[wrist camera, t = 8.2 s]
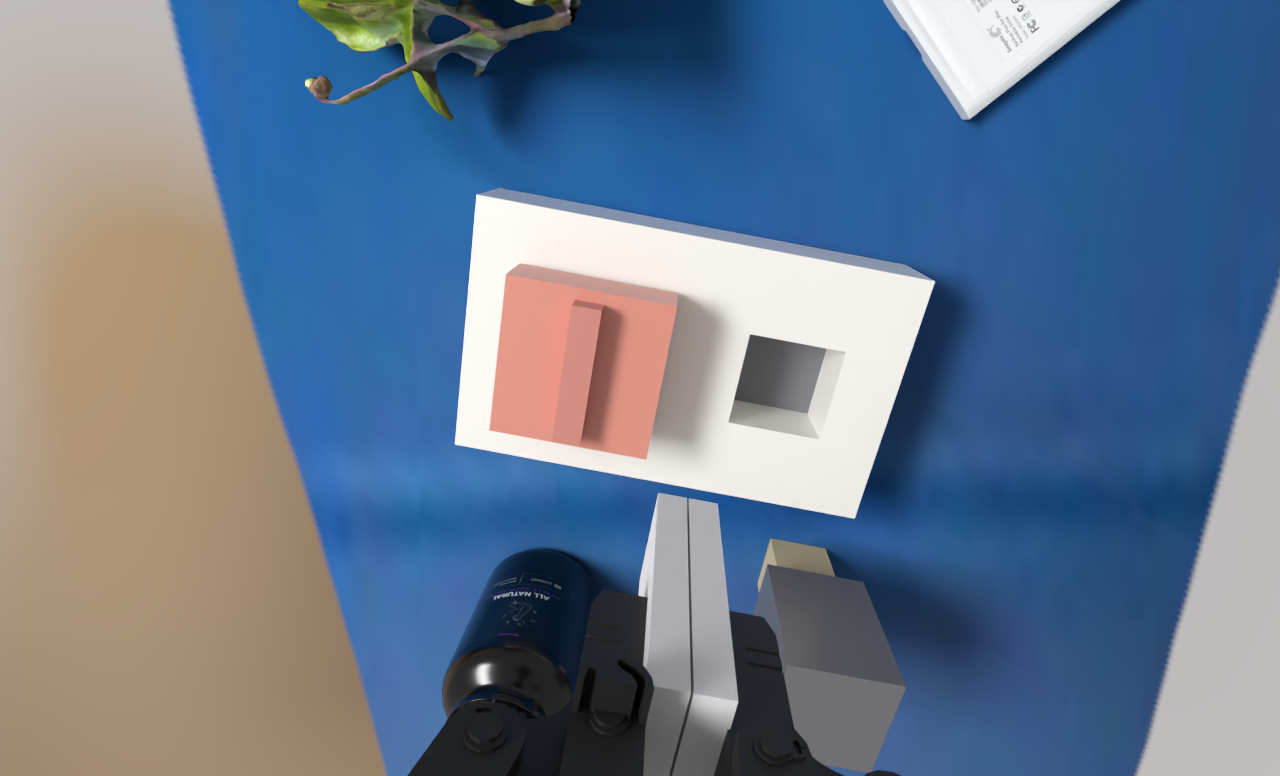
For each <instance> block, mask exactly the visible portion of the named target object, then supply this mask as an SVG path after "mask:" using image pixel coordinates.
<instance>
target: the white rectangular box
mask: <svg viewBox="0 0 1280 776" xmlns="http://www.w3.org/2000/svg"><path fill="white" fill-rule="evenodd" d="M519 263H522V264H527V265H532V266H538V267H543V268H548V269H554V270H559V271H564V272H570V273H575V274H580V275H586V276H591V277H596V278H601V279H607V280H612V281H617V282H623V283H628V284H633V285H639V286H644V287H649V288H655V289H660V290H665V291H670V292H676V293H678V300H677V311H676V316H675V321H674V325H673V330H672V335H671V340H670V345H669V350H668V355H667V360H666V365H665V370H664V375H663V380H662V385H661V390H660V395H659V399H658V404H657V409H656V414H655V419H654V424H653V429H652V434H651V439H650V444H649V449H648V454H647V459H640V458H635V457H630V456H624V455H619V454H613V453H608V452H603V451H597V450H592V449H587V448H581V447H576V446H570V445H565V444H559V443H554V442H549V441H543V440H538V439H533V438H527V437H522V436H517V435H511V434H506V433H500V432H495V431H490V430H489V429H490V419H491V410H492V401H493V391H494V382H495V372H496V363H497V354H498V344H499V335H500V325H501V316H502V307H503V297H504V288H505V278H506V274H507V273H508V272H509V271H511V270H512V269H513V268H514V267H516V266H517V265H518V264H519ZM934 283H935V281H934V280H932V279H930V278H928V277H927V276H925V275H923V274H921V273H919V272H918V271H916V270H914V269H912V268H911V267H909V266H907V265H904V264H899V263H893V262H888V261H883V260H878V259H872V258H867V257H862V256H856V255H851V254H846V253H841V252H835V251H830V250H825V249H819V248H814V247H809V246H804V245H798V244H793V243H788V242H783V241H777V240H772V239H767V238H761V237H756V236H751V235H746V234H740V233H735V232H730V231H724V230H719V229H714V228H709V227H703V226H698V225H693V224H688V223H682V222H677V221H672V220H666V219H661V218H656V217H651V216H645V215H640V214H635V213H629V212H624V211H619V210H614V209H608V208H603V207H598V206H592V205H587V204H582V203H577V202H571V201H566V200H561V199H556V198H550V197H545V196H540V195H534V194H529V193H524V192H519V191H513V190H508V189H503V188H498V189H495V190H491V191H488V192H484V193H480V194H477V195H476V207H475V218H474V230H473V241H472V253H471V264H470V276H469V287H468V299H467V310H466V322H465V333H464V345H463V356H462V368H461V379H460V391H459V402H458V414H457V426H456V437H455V445H460V446H466V447H471V448H477V449H482V450H487V451H493V452H498V453H504V454H509V455H514V456H520V457H525V458H531V459H536V460H541V461H547V462H552V463H557V464H563V465H568V466H574V467H579V468H584V469H590V470H595V471H601V472H606V473H611V474H617V475H622V476H628V477H633V478H638V479H644V480H649V481H654V482H660V483H665V484H671V485H676V486H681V487H687V488H692V489H698V490H703V491H708V492H714V493H719V494H725V495H730V496H735V497H741V498H746V499H751V500H757V501H762V502H768V503H773V504H778V505H784V506H789V507H795V508H800V509H805V510H811V511H816V512H822V513H827V514H832V515H838V516H843V517H848V518H854V519H855V516H856V513H857V510H858V507H859V504H860V501H861V498H862V495H863V492H864V489H865V486H866V483H867V481H868V478H869V475H870V472H871V469H872V466H873V463H874V460H875V457H876V454H877V451H878V448H879V445H880V442H881V439H882V436H883V433H884V430H885V428H886V425H887V422H888V419H889V416H890V413H891V410H892V407H893V404H894V401H895V398H896V395H897V392H898V389H899V386H900V383H901V380H902V378H903V375H904V372H905V369H906V366H907V363H908V360H909V357H910V354H911V351H912V348H913V345H914V342H915V339H916V336H917V333H918V330H919V327H920V325H921V322H922V319H923V316H924V313H925V310H926V307H927V304H928V301H929V298H930V295H931V292H932V289H933V286H934Z"/></svg>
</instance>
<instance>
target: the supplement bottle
mask: <svg viewBox="0 0 1280 776" xmlns="http://www.w3.org/2000/svg"><path fill="white" fill-rule="evenodd" d="M597 596H598V594H597V590H596V587H595V584H594V582H593V580H592V578H591V577H590V575H589V574H588V573H587V571H586V570H585V569H584V568H583V567H582V566H581V565H580V564H579V563H577V562H576V561H575V560H573V559H571V558H570V557H568V556H566V555H563V554H561V553H558V552H555V551H550V550H543V549H533V550H526V551H522V552H519V553H516V554H514V555H512V556H510V557H508V558H506V559H505V560H504V561H502V562H501V563H500V564H499V565H498V566H497V567H496V569H495V570H494V571H493V573H492V575H491V576H490V578H489V580H488V582H487V584H486V586H485V588H484V590H483V593H482V595H481V597H480V599H479V601H478V603H477V606H476V608H475V610H474V612H473V614H472V617H471V619H470V621H469V623H468V625H467V627H466V630H465V632H464V634H463V636H462V638H461V640H460V643H459V645H458V647H457V649H456V651H455V653H454V656H453V658H452V660H451V662H450V664H449V667H448V669H447V672H446V674H445V677H444V680H443V685H442V701H443V706H444V711H445V713H446V716H447V721H448V719H449V718H450V717H451V716H452V715H454V714H455V713H456V712H457V711H458V710H459V709H460V708H462V707H465V706H467V705H469V704H471V703H474V702H483V701H492V702H497V703H502V704H505V705H506V706H508V707H509V708H511V709H513V710H514V711H516V712H517V714H518V715H519V717H520V718H521V719H522V720H528V719H537V718H542V717H546V716H550V715H552V714H554V713H556V712H558V711H560V710H561V709H562V708H563V707H565V706H566V705H567V704H568V702H569V701H570V700H571V698H572V697H573V694H574V691H575V686H576V681H577V675H578V672H579V667H580V661H581V656H582V651H583V646H584V640H585V635H586V630H587V624H588V619H589V614H590V609H591V603H592V602H593V601H594V600H595V599H596V597H597ZM447 721H446V722H447Z"/></svg>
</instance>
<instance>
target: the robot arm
mask: <svg viewBox="0 0 1280 776" xmlns="http://www.w3.org/2000/svg"><path fill="white" fill-rule="evenodd" d="M779 654H780V653H779V648H778V643H777V638H776V634H775V633H774V631H773V630H772V629H771V627H770V626H769V624H768V623H767V621H766V620H765V618H764V617H760V616H754V615H749V614H743V613H738V612H733V611H729V607H728V598H727V588H726V579H725V569H724V560H723V550H722V541H721V531H720V522H719V512H718V504H717V503H711V502H706V501H700V500H695V499H690V498H689V500H688V505H687V498H684V497H679V496H674V495H668V494H663V493H658V496H657V501H656V506H655V510H654V515H653V520H652V524H651V529H650V534H649V538H648V543H647V548H646V552H645V557H644V562H643V567H642V571H641V576H640V583H639V594H638V596H637V595H631V594H626V593H621V592H615V591H610V590H603V591H602V592H601V593H600V594H599V595H598V596H597V597H596V599H595V600H594V601H593V602H592V603H591V609H590V614H589V619H588V624H587V630H586V635H585V640H584V646H583V651H582V656H581V661H580V667H579V672H578V675H577V681H576V686H575V691H574V694H573V697H572V698H571V700H570V701H569V702H568V704H567V705H566V706H565V707H563V708H562V709H561V710H560V711H558V712H556V713H554V714H552V715H550V716H546V717H542V718H537V719H528V720H522V719H521V718H520V717H519V715H518V714H517V712H516V711H514V710H513V709H511V708H509V707H508V706H506V705H505V704H502V703H497V702H492V701H483V702H474V703H471V704H469V705H467V706H465V707H462V708H460V709H459V710H458V711H457V712H456V713H455V714H454V715H452V716H451V717H450V718H449V719H448V721H447V722H446V724H445V725H444V726H443V728H442V729H441V730H440V732H439V733H438V735H437V736H436V737H435V739H434V740H433V741H432V743H431V744H430V746H429V747H428V748H427V750H426V751H425V752H424V754H423V755H422V757H421V758H420V759H419V761H418V762H417V763H416V765H415V766H414V768H413V769H412V770H411V772H410V773H409V774H408V776H843V775H841V774H839V773H837V772H835V771H833V770H831V769H829V768H828V767H826V766H824V765H822V764H821V763H820V762H818V761H817V760H816V759H815V758H814V757H812V755H811V752H810V750H809V747H808V745H807V743H806V741H805V740H804V739H803V738H802V737H801V736H800V734H799V733H798V732H797V731H796V730H795V729H794V725H793V719H792V714H791V709H790V704H789V699H788V694H787V689H786V684H785V679H784V673H783V672H782V669H783V668H782V663H781V658H780V657H779ZM865 776H900V775H898V774H896V773H893V772H888V771H881V770H877V771H873V772H870V773H867V774H866V775H865Z"/></svg>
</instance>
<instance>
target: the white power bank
mask: <svg viewBox="0 0 1280 776" xmlns="http://www.w3.org/2000/svg"><path fill="white" fill-rule="evenodd" d="M883 1H884V3H885V4H886V6H887V7H888V9H889V10H890V12H891V13H892V15H893V16H894V18H895V19H896V21H897V22H898V24H899V25H900V27H901V28H902V30H905V31H906V32H907V33H908V35H909V36H910V38H911V39H912V41H913V42H914V44H915V45H916V47H917V48H918V50H919V51H920V53H921V55H922V60H923V61H924V63H925V64H926V66H927V67H928V69H929V70H930V72H931V73H932V75H933V76H934V78H935V79H936V81H937V82H938V84H939V85H940V87H941V88H942V90H943V91H944V93H945V94H946V96H947V97H948V99H949V100H950V102H951V103H952V105H953V106H954V108H955V109H956V111H957V112H958V114H959V115H960V117H961V118H962V119H963V120H969V119H971V118H972V117H974V116H975V115H976V114H977V113H978V112H980V111H981V110H982V109H983V108H985V107H986V106H987V105H989V104H990V103H991V102H992V101H993V100H995V99H996V98H997V97H999V96H1000V95H1001V94H1003V93H1004V92H1005V91H1006V90H1008V89H1009V88H1010V87H1012V86H1013V85H1014V84H1015V83H1017V82H1018V81H1019V80H1020V79H1022V78H1023V77H1024V76H1025V75H1027V74H1028V73H1029V72H1030V71H1032V70H1033V69H1034V68H1036V67H1037V66H1038V65H1039V64H1041V63H1042V62H1043V61H1045V60H1046V59H1047V58H1048V57H1050V56H1051V55H1052V54H1053V53H1055V52H1056V51H1057V50H1058V49H1060V48H1061V47H1062V46H1063V45H1065V44H1066V43H1067V42H1069V41H1070V40H1071V39H1072V38H1073V37H1075V36H1076V35H1077V34H1078V33H1080V32H1081V31H1082V30H1084V29H1085V28H1086V27H1087V26H1089V25H1090V24H1091V23H1092V22H1094V21H1095V20H1096V19H1097V18H1099V17H1100V16H1101V15H1102V14H1104V13H1105V12H1106V11H1108V10H1109V9H1110V8H1111V7H1113V6H1114V5H1115V4H1116V3H1118V2H1119V1H1120V0H883Z"/></svg>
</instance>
